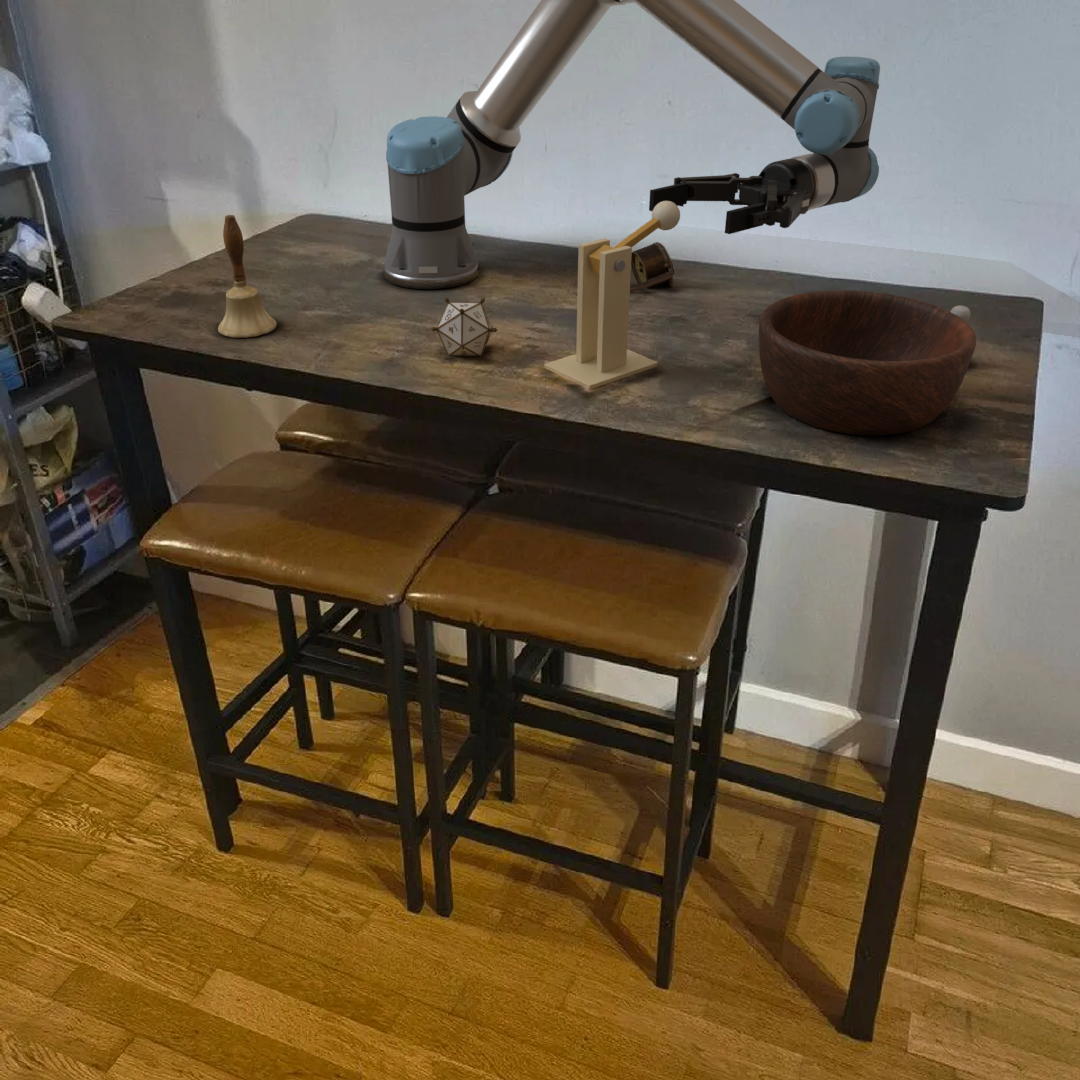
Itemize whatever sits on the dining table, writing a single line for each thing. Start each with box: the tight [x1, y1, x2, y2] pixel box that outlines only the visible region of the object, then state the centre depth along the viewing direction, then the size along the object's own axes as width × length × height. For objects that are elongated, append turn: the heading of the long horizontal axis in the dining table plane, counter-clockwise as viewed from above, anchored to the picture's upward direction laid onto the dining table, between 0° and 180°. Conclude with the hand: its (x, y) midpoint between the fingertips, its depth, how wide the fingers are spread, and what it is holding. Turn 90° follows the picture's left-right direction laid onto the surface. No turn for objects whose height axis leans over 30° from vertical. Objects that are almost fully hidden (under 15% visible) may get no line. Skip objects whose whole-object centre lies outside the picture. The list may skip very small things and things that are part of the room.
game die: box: [430, 296, 498, 357], centre depth 142 cm, size 9×8×10 cm
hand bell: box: [217, 214, 278, 339], centre depth 149 cm, size 8×8×16 cm
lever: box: [589, 201, 681, 274], centre depth 133 cm, size 14×4×4 cm, turn 129°
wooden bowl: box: [758, 289, 977, 437], centre depth 129 cm, size 25×25×10 cm
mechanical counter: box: [630, 241, 675, 292], centre depth 166 cm, size 7×13×10 cm
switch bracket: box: [543, 238, 659, 391], centre depth 135 cm, size 12×9×17 cm
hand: (688, 211), depth 137 cm, fingers open, 13 cm apart
